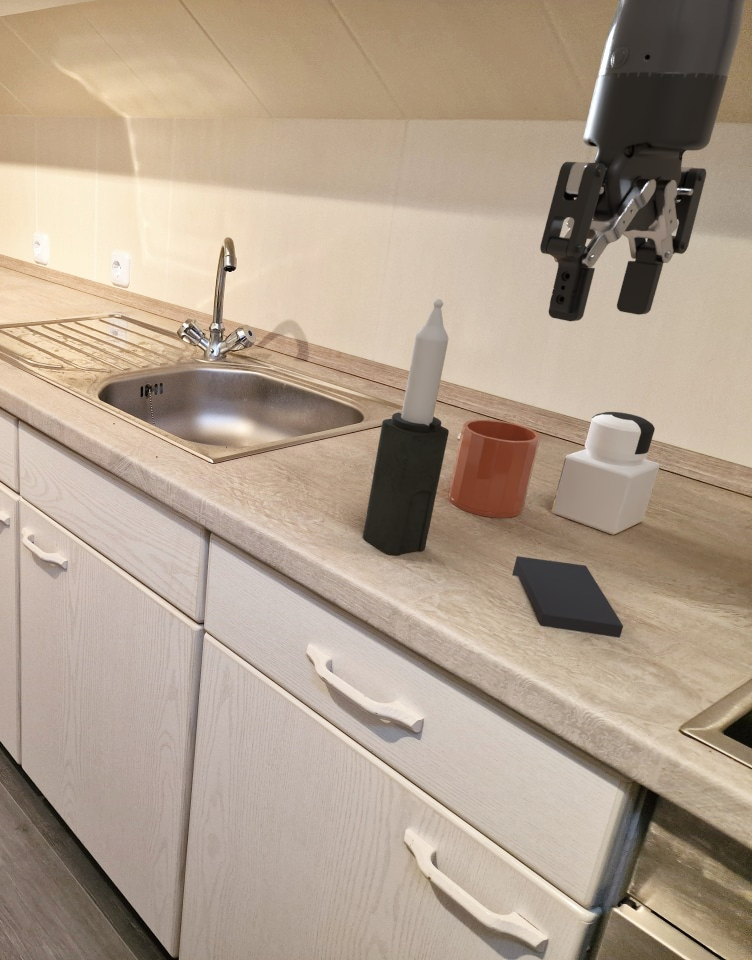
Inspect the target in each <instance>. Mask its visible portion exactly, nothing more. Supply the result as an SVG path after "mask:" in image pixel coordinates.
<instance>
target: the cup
mask: <svg viewBox="0 0 752 960" xmlns="http://www.w3.org/2000/svg"><path fill="white" fill-rule="evenodd" d="M541 438H542V436H541V435H540V433H539V432H537V431H535V430H534V429H532V428H530V427H527V426H524V425H521V424H518V423H513V422H510V421H504V420H496V419H471V420H467V421H465V422H464V423H463V424H462V426H461V431H460V436H459V442H458V445H457V449H456V450H457V451H456V456H455V460H454V465H453V470H452V475H451V479H450V484H449V489H448V501H449V502H450V503H451V504H452V505H453V506H455V507H457V508H458V509H460V510H463V511H465V512H468V513H470V514H473V515H476V516H477V515H478V516H482V517H488V518H496V519H497V518H498V519H506V518H508V519H509V518H515V517H519V515H520V514H522V513H523V510H524V506H525V504H526V499H527V495H528V490H529V487H530V483H531V479H532V476H533V471H534V467H535V462H536V459H537V455H538V451H539V446H540V442H541Z"/></svg>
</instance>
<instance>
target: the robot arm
mask: <svg viewBox="0 0 752 960" xmlns="http://www.w3.org/2000/svg"><path fill="white" fill-rule="evenodd" d="M745 2H746V0H618V2H617V4H616V8H615V10H614V14H613V16H612V19H611V22H610V25H609V28H608V31H607V34H606V37H605V41H604V45H603V50H602V54H601V59H600V63H599V68H598V71H597V76H596V80H595V84H594V89H593V93H592V98H591V102H590V106H589V109H588V115H587V119H586V123H585V127H584V131H583V137H582V140H583V143H584V145H586V146H588V147H593V148H597V153H596V156H595V158H594V160H593V162H586V161H585V162H583V161H565V162H563V163H562V165H561V166H560V169H559V173H558V175H557V180H556V184H555V188H554V191H553V197H552V200H551V203H550V207H549V211H548V214H547V218H546V222H545V225H544V226H545V228H544V230H543V235H542V238H541V242H540V246H539V249H540V252H541V253H542V254H545V255H550V256H551V257H553V260H554V262H555V263H557V271H556V274H555V279H554V284H553V289H552V292H551V297H550V300H549V307H548V316H549V317H551V318H552V319H557V320H561V321H566V322H577V321H580V320H582V319H583V317H584V314H585V311H586V307H587V302H588V299H589V295H590V291H591V287H592V282H593V278H594V274H595V270H596V268H595V267H594V266H595V264H596V263H597V261H598V260H599V258H600V257H601V255H602V254H603V253H604V251H605V250H606V248H607V246H608V245H609V244H611V243H615V242H616V241H618V240H619V239H621V237H622V236H624V237H626V238H627V240H628V247H629V252H630V257H631V259H633V260H628V261H627V265H626V268H625V272H624V276H623V278H622V279H623V280H622V283H621V287H620V291H619V294H618V299H617V303H616V308H617V310H618V311H619V312H622V313H627V314H632V315H637V316H640V315H647V314H648V313H649V312H650V311H651V309H652V306H653V303H654V299H655V296H656V293H657V288H658V285H659V282H660V277H661V275H662V271H663V267H664V264H668V263H669V262H670V261H671V259H672V258H673V255H674V254H679V255H683V254H684V253H685V252H686V251H687V250H688V247H689V244H690V241H691V237H692V233H693V229H694V225H695V220H696V217H697V213H698V209H699V205H700V202H701V197H702V194H703V189H704V187H705V186H704V185H705V183H706V182H705V181H706V177H707V170H706V169H705V168H704V167H703V168H702V167H692V166H691V167H690V166H682V165H683V164H682V162H683V155H684V153H686V151H701V150H703V149H705V148H706V147H707V146H708V145H709V143H710V141H711V138H712V135H713V131H714V127H715V124H716V120H717V117H718V114H719V113H718V112H719V111H720V110H719V109H720V106H721V103H722V98H723V95H724V93H725V88H726V85H727V81H728V78H729V75H730V70H731V67H732V63H733V61H734V57H735V54H736V49H737V46H738V43H739V38H740V34H741V29H742V25H743V24H742V23H743V17H744V9H745ZM566 219H568V220H567V222H566V226H567V229H568V231H567V232H566V234H565V236H561V234H562V230H563V226H564V221H565V220H566ZM675 231H676V232H675ZM674 232H675V235H672V234H673V233H674ZM588 240H590V241H589V243H588V244H587V241H588ZM586 244H587V245H586Z"/></svg>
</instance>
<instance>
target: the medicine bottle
mask: <svg viewBox="0 0 752 960" xmlns="http://www.w3.org/2000/svg"><path fill="white" fill-rule="evenodd" d="M655 430H656V429H655V425H654V424H653V423H652V422H650V421H649V420H647V419H646V418H644V417H642V416H639V415H636V414H635V415H634V414H631V413H626V412H619V411H605V412H600V413H596V414H594V415H593V416H592V417H591V420H590V424H589V427H588V431H587V435H586V439H585V442H584V448H585V449H581V450H578V451H575V452H573V453H570V454H567V455H566V456H565V458H564V462H563V465H562V469H561V474H560V477H559V480H558V485H557V488H556V492H555V496H554V499H553V504H552V508H551V513H552V514H554V515H556V516H558V517H559V516H560V517H562V518H565V519H568V520H570V521H573V522H576V523H579V524H581V525H585V526H587V527H590V528H593V529H595V530H598V531H601V532H604V533H607V534H610V535H611V536H615V535H617V534H618V533H621V532H623V531H625V530H627V529H629V528H632V527H633V526H635V525H638V524H640V523H641V522H643V521H644V519H645V516H646V513H647V510H648V506H649V502H650V499H651V496H652V493H653V490H654V486H655V483H656V480H657V476H658V474H659V470H660V463H658V462H656V461H653V460H649V459H647V458H648V455H649V450H650V447H651V444H652V441H653V436H654V434H655Z"/></svg>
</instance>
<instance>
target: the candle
mask: <svg viewBox="0 0 752 960" xmlns="http://www.w3.org/2000/svg"><path fill="white" fill-rule="evenodd" d="M443 306H444V302H443V300H442V299H440V298H439V299H438V298H437V299H436V300H434V301H433V308H432V311H431V313H430V314H429V316H428V318H427V320H426V322H425V323H424V325H423V326H422V327H421V328H420V329H419V330H418V332H416V334H415V336H414V344H413V349H412V355H411V359H410V365H409V370H408V371H409V372H408V376H407V381H406V388H405V393H404V399H403V404H402V410H401V412H396V413H393V414H392V416H391V418H386V419H383V420H382V423H381V429H380V432H379V438H378V445H377V446H378V447H377V450H376V456H375V457H376V458H375V462H374V468H373V475H372V480H371V485H370V490H369V491H370V492H369V497H368V503H367V509H366V515H365V521H364V526H363V532H362V539H363V540H364V541H366V542H367V543H368V544H370V545H372V546H373V547H375V548H376V549H378V550H379V551H380V552H382V553H384V554H386V555H390V556H401V555H402V554H407V553H415V552H423V551H425V550H426V547H427V542H428V541H427V540H428V536H429V532H430V527H431V521H432V517H433V512H434V507H435V501H436V498H437V492H438V487H439V482H440V479H441V472H442V467H443V462H444V458H445V453H446V447H447V444H448V438H449V434H450V430H449V429H447V427H444V426H442V420H440V419H439V418H438V417H435V416H434V415H435V411H436V406H437V400H438V395H439V391H440V386H441V381H442V380H441V379H442V375H443V369H444V364H445V361H446V360H445V359H446V354H447V350H448V349H447V348H448V343H449V336H448V333H447V330H446V328H445V327H444V320H443V310H442V307H443Z"/></svg>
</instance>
